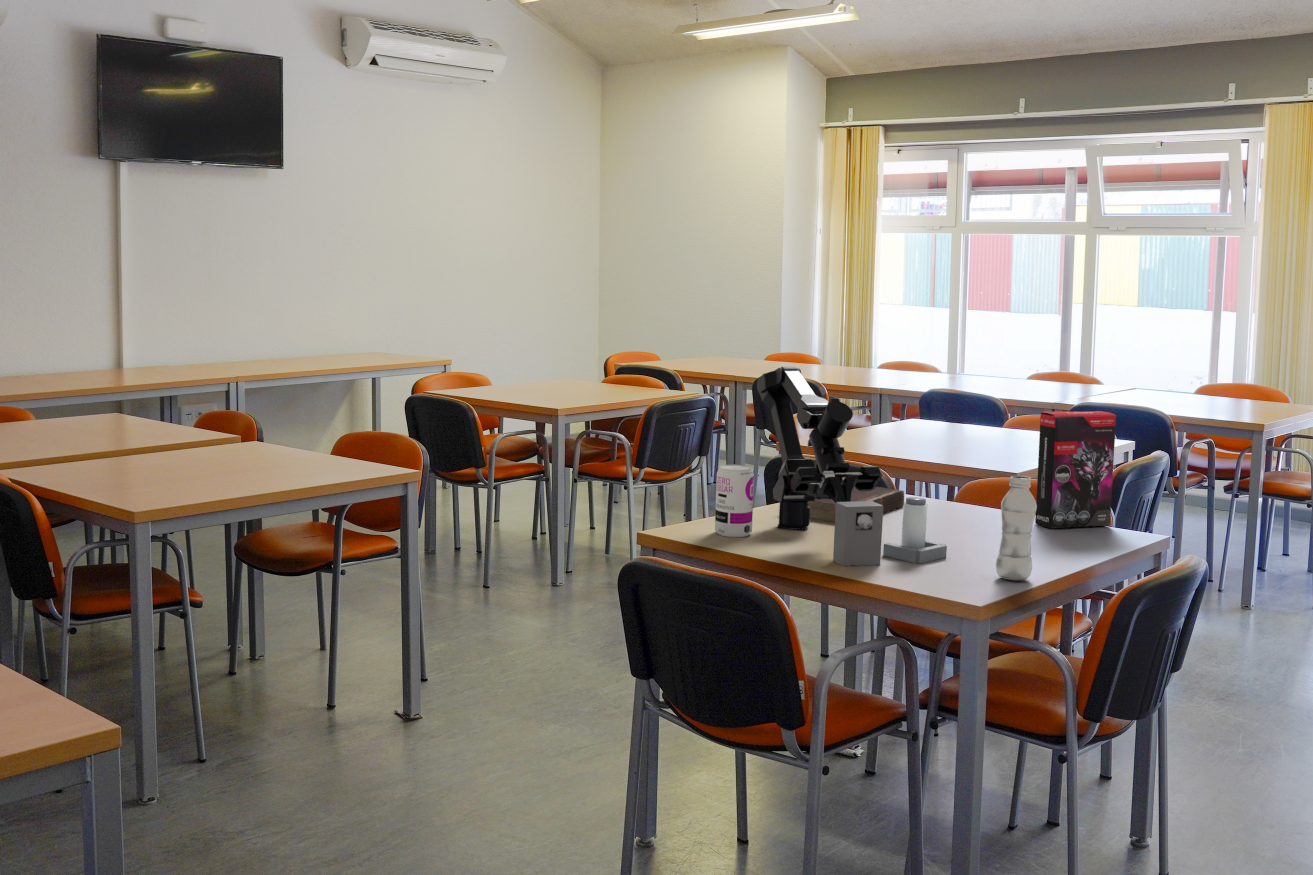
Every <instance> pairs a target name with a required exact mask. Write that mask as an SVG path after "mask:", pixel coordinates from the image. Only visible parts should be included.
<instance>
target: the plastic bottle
mask: <svg viewBox="0 0 1313 875" xmlns="http://www.w3.org/2000/svg"><path fill="white" fill-rule="evenodd" d="M1009 478H1010V479H1009V484H1008V486H1009V487H1010V488H1009V490H1008V491H1007V493H1005V495H1004V497H1003V498H1002V500H1001V503H1000V512H1001V540H1000V546H999V551H998V555H997V559H996V563H995V571H996V574H997V575H998V577H999V578H1001V579H1005V580H1009V581H1013V582H1014V581H1025V580H1028V579H1029V578H1030V577H1031V574H1032V570H1033V561H1032V546H1031V545H1032V540H1031V539H1032V533H1033V526H1034V521H1035V517H1036V509H1037V504H1036V499H1035V497H1034V495H1033V494H1032V492H1031V491H1030V488H1031V487H1032V484H1031V477H1030V476H1026V475H1011V476H1010V477H1009Z"/></svg>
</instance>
